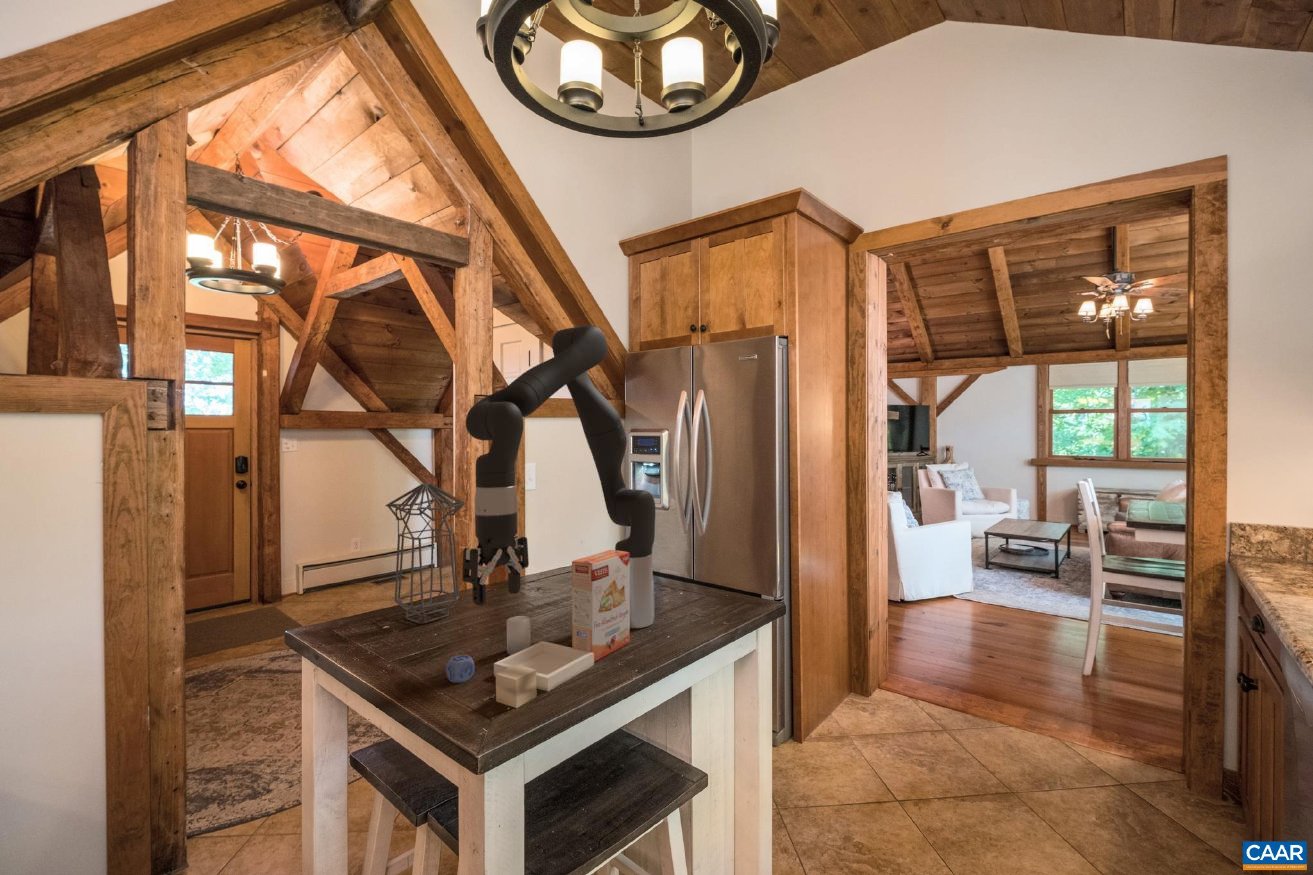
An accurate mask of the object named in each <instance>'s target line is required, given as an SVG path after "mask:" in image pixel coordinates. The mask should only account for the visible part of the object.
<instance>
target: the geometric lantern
mask: <svg viewBox="0 0 1313 875" xmlns="http://www.w3.org/2000/svg"><path fill="white" fill-rule="evenodd" d="M425 494H426V500H425V501H424V496H425ZM420 496H421V498H420ZM430 497H431V498H432V499H430ZM404 498H406V499H404ZM419 498H420V501H419V503H418V502H417V501H418V500H419ZM448 498H449V499H448ZM402 499H404V501H403V502H401V503H397V502H398V501H401V500H402ZM451 500H453V502H452V501H451ZM434 502H436V503H437V505H438V506H439V507H432V504H433V503H434ZM423 504H428V505H426V506H423ZM445 505H447V506H445ZM465 505H467V502H466V501H464V500H461V499H459V498H458V497H456V496H454V495H452V494H450V493H448V492H447V491H445V490H443V489H441V488H440V487H438V486H436V485H434V484H432V483H427V482H426V483H421V484H419V485H417V486H416V487H414V488H413V489H411V490H409V491H407V492H406V493H404V494H401V496H399V497H397V498H395V499H394V500H391V502H388V503H387V504H385V507H387V508H388V509H389V510H390V512H391V513H392V514H393V516H395V519H396V521H397V546H396V547H397V548H396V566H395V570H396V571H395V588H394V602H395V603H396V604H398V605H399V606H400V607H401V608H402V609H403V610H405V619H406V620H408V621H411V622H414V623H417V624H419V625H422V624H426V623H430V622H434V621H436V620H440V619H443V618H445V617H449V616H450V614H449V612H450V610H449V609H450V607H452V606H453V605H454V604H455V603H456V602H458V600H459V597H460V593H459V591H460V590H459V581H458V565H457V564H458V563H457V548H456V532H455V531H453V528H452V527H453V526H452V516H455V515H456V513H457V512H458V511H459V510H460V509H461V508H462V507H463V506H465ZM414 506H418V507H417V508H414ZM406 507H407V508H406ZM393 508H395V510H394V509H393ZM452 508H453V509H452ZM427 510H428V511H430V512H431V516H430V515H429V514H427V513H426V511H427ZM441 510H442V512H441V513H442V516H439V517H436V518H435V516H434V511H441ZM398 511H399V516H398ZM412 511H418V513H416V512H415V513H413V512H412ZM402 512H403V513H405V514H404V515H402ZM423 515H424V516H425V517H427V518H428V519H429V520H428V521H427V520H426V518H425V517H424V516H423ZM411 516H420V517H421V518H422V519H423V521H424V522H425V523H426V525H425V526H424V528H423V529H422V530H415V531H412V530H410V527H409V525H408V523H409V520H410V518H411ZM448 516H449V520H450V521H449V522H450V526H449V524H448V522H447V518H448ZM405 519H406V520H405ZM439 520H442V521H441V523H440V525H439V527H438V528H436V529H435V528H432V526H431V525H430V522H431V521H432V522H434V521H439ZM400 521H402V523H403V525H404V526H403V529H402V532H401V533H400ZM444 524H445V526H446V529H447V530H445V529H441V528H442V526H443V525H444ZM427 527H429V529H426V528H427ZM406 530H407V531H408V532H406ZM424 532H431V536H427V537H421V535H422V534H423V533H424ZM435 532H437V535H435ZM441 532H444V533H448V534H442V535H441ZM417 533H419V534H418V536H417V537H414V534H417ZM407 534H409V536H406V535H407ZM443 537H448V538H449V539H448V540H449V549H450V552H449V553H450V562H451V573H452V574H451V575H452V585H453V593H451V592H448V591H445V590H444V589H443V573H442V571H443V570H442V552H441V551H442V550H441V549H442V548H441V538H443ZM434 538H435V539H436V538H437V546H438V547H437V548H438V567H439V568H438V569H439V570H438V571H439V586H440V589H439V590H438V589H433V581H434V580H433V578H434V574H433V573H434V542H435V541H434ZM405 539H408V540H409V539H410V540H411V560H410V561H411V566H410V594H409V595H404V596H401V590H402V589H401V587H402V575H403V561H404V560H403V558H404V544H405V543H404V542H405ZM427 539H431V545H430V546H431V551H430V552H431V553H430V556H431V557H430V589H429V590H426V591H424V587H423V584H424V583H423V566H422V565H423V564H422V540H427ZM415 541H418V559H419V560H418V561H419V585H420V586H419V587H420V592H418V593H417V592H416V593H414V568H415V566H414V565H415V562H414V560H415ZM400 543H401V544H400ZM399 563H400V564H399ZM433 593H438V595H437V596H436V598H435V600H433V601H432V594H433ZM424 594H425V595H426V594H429V602H424ZM441 594H445V595H448V596H452V597H454V599H450V600H445V601H439V602H437V600H438V598H439V597H440V595H441ZM417 596H420V604H418V605H414V606H413V599H414V598H413V597H417ZM407 598H409V599H410V600H409V601H410V603H409V605H408V604H406V603H403V602H404V601H402V600H404V599H407ZM447 603H450V604H448V605H445V604H447ZM435 606H441V607H444V608H440V609H437V608H435ZM431 607H432V608H431ZM425 608H428V609H425ZM420 609H422V610H421V611H417V610H420ZM438 612H440V613H443V614H444V615H442V616H439V617H435V618H432V619H430V620H427V615H429V614H433V613H438ZM409 613H411V614H409ZM416 615H417V616H419V620H415V619H412V618H409V617H411V616H412V617H413V616H416ZM422 616H423V618H424V620H423V621H422Z"/></svg>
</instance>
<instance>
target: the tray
mask: <svg viewBox="0 0 1313 875" xmlns="http://www.w3.org/2000/svg"><path fill="white" fill-rule="evenodd" d="M516 664H517V665H520V666H524V667H528V668H532V669H535V670H536V689H538V690H541V691H544V692H550V691H551V690H554V689H555V688H557V687H558V686H560V685H562V684H564V683H565V682H567V681H569V680H571V679H573V678H574V677H576V676H578V675H579V674H581V673H583V672H585V671H586V670H588V669H590V668H591V667H593V666H595V662H594V653H592V652H588V651H584V650H579V649H575V648H572V646H571V647H570V646H566V645H561V644H557V643H553V642H549V641H543V640H542V641H539V642H537V643H535V644H533V645H531V646H530V647H528V648H526V649H524V650H522V651H520V652H517V653H515V654H513V655H509V656H507V657H505V658H502V659H501V660H498V661H496V662H494V663H493V677H496V674H497V673H499V672H501V671H503V670H505V669H507V668H509V667H512V666H514V665H516Z"/></svg>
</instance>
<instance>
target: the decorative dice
mask: <svg viewBox="0 0 1313 875" xmlns="http://www.w3.org/2000/svg"><path fill="white" fill-rule="evenodd" d="M445 674H446V678H447V679H448V681H450V683H452V684H453V683H455V684H460V683H464V682H467V681H469V680H470V679H471V678H472V677H473V676H474V674H475V662H474V660H473V658H472V657H471V655H468V654H457V655H454V656H452V657H450V659H448V661H447V663H446V665H445Z"/></svg>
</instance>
